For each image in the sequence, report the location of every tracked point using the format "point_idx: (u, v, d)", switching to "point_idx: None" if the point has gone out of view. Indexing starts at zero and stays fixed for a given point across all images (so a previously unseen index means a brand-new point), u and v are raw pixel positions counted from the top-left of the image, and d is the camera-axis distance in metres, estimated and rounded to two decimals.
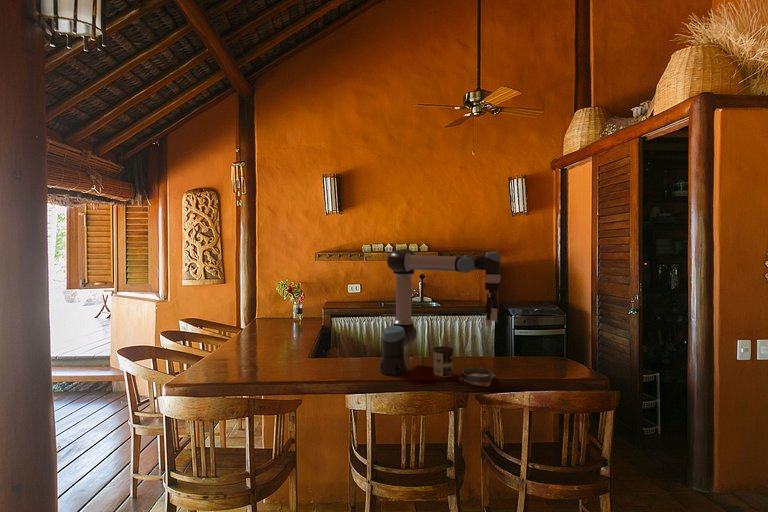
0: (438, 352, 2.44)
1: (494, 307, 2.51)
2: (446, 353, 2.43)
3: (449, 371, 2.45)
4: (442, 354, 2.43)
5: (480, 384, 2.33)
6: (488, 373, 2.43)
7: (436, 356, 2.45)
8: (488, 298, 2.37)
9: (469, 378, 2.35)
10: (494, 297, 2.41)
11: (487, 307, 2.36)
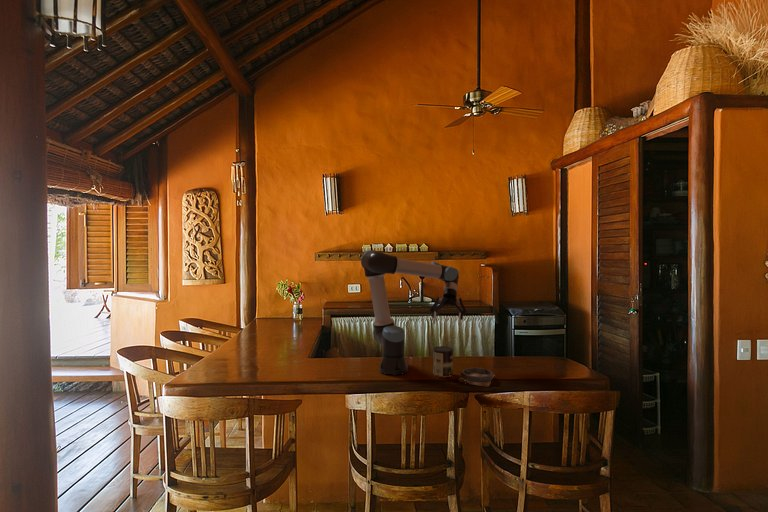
0: (438, 352, 2.44)
1: (434, 311, 2.64)
2: (446, 353, 2.43)
3: (449, 371, 2.45)
4: (442, 354, 2.43)
5: (480, 384, 2.33)
6: (488, 373, 2.43)
7: (436, 356, 2.45)
8: None
9: (469, 378, 2.35)
10: None
11: (465, 309, 2.61)
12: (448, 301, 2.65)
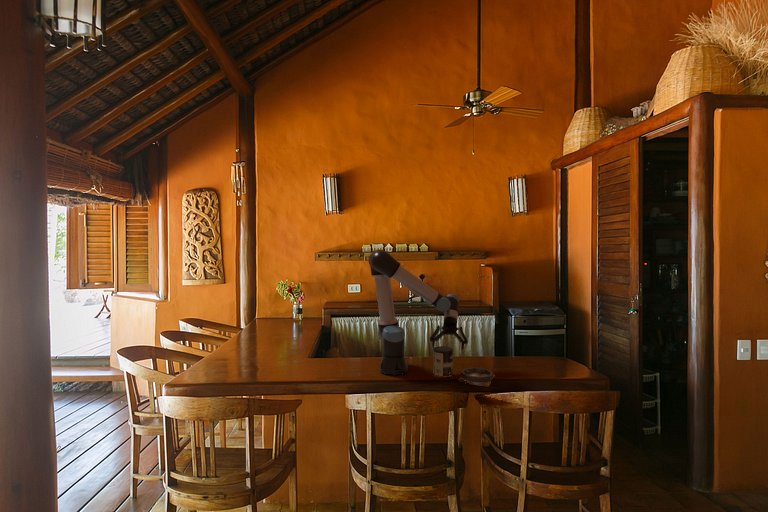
0: (438, 352, 2.44)
1: (435, 341, 2.58)
2: (446, 353, 2.43)
3: (449, 371, 2.45)
4: (442, 354, 2.43)
5: (480, 384, 2.33)
6: (488, 373, 2.43)
7: (436, 356, 2.45)
8: None
9: (469, 378, 2.35)
10: None
11: None
12: (448, 330, 2.60)
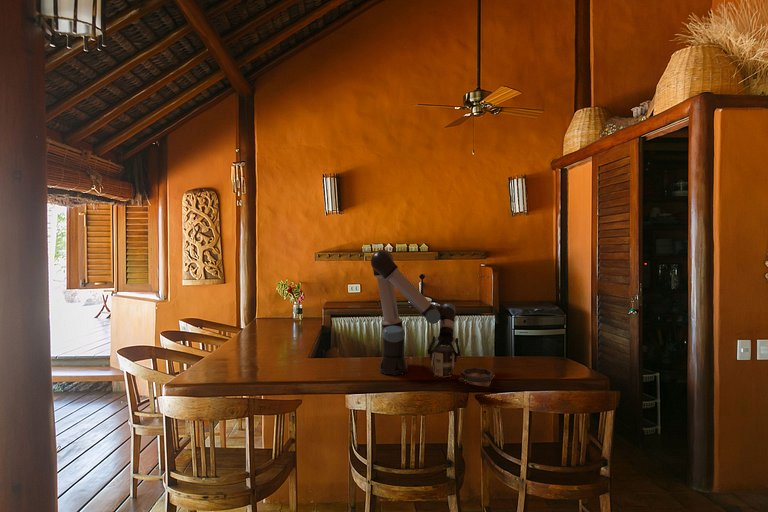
0: (438, 352, 2.44)
1: None
2: (446, 353, 2.43)
3: (449, 371, 2.45)
4: (442, 354, 2.43)
5: (480, 384, 2.33)
6: (488, 373, 2.43)
7: (436, 356, 2.45)
8: None
9: (469, 378, 2.35)
10: None
11: (459, 350, 2.49)
12: (444, 340, 2.54)
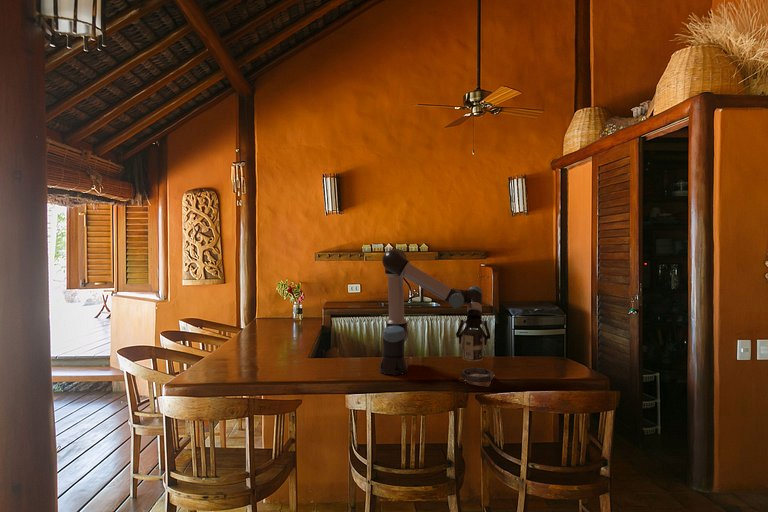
0: (468, 335, 2.37)
1: (461, 336, 2.45)
2: (476, 335, 2.37)
3: (479, 354, 2.38)
4: (472, 336, 2.37)
5: (480, 384, 2.33)
6: (488, 373, 2.43)
7: (466, 339, 2.38)
8: None
9: (469, 378, 2.35)
10: None
11: (489, 333, 2.43)
12: (473, 323, 2.48)
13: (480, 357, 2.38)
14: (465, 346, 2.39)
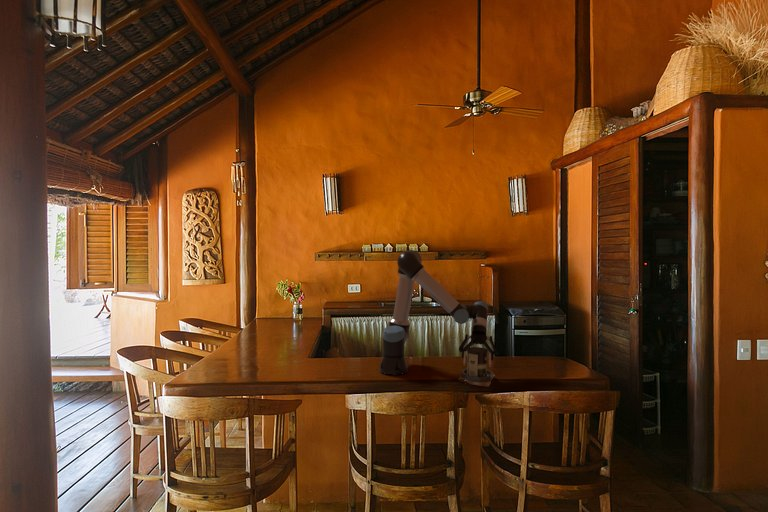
0: (472, 353, 2.36)
1: None
2: (481, 354, 2.36)
3: (484, 373, 2.37)
4: (477, 355, 2.36)
5: (480, 384, 2.33)
6: (488, 373, 2.43)
7: (470, 357, 2.37)
8: None
9: (469, 378, 2.35)
10: None
11: (495, 348, 2.42)
12: (478, 339, 2.46)
13: None
14: (469, 364, 2.38)
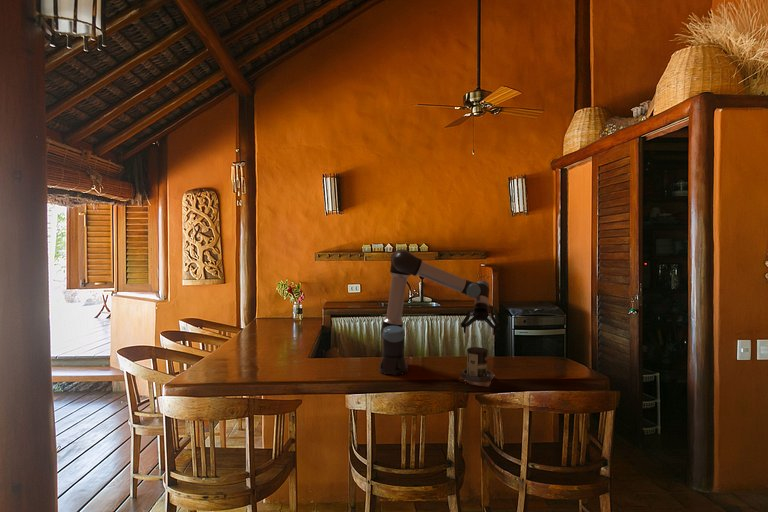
0: (472, 353, 2.36)
1: None
2: (481, 354, 2.36)
3: (484, 373, 2.37)
4: (477, 355, 2.36)
5: (480, 384, 2.33)
6: (488, 373, 2.43)
7: (470, 357, 2.38)
8: None
9: (469, 378, 2.35)
10: (485, 319, 2.59)
11: None
12: (480, 316, 2.58)
13: None
14: (469, 364, 2.38)
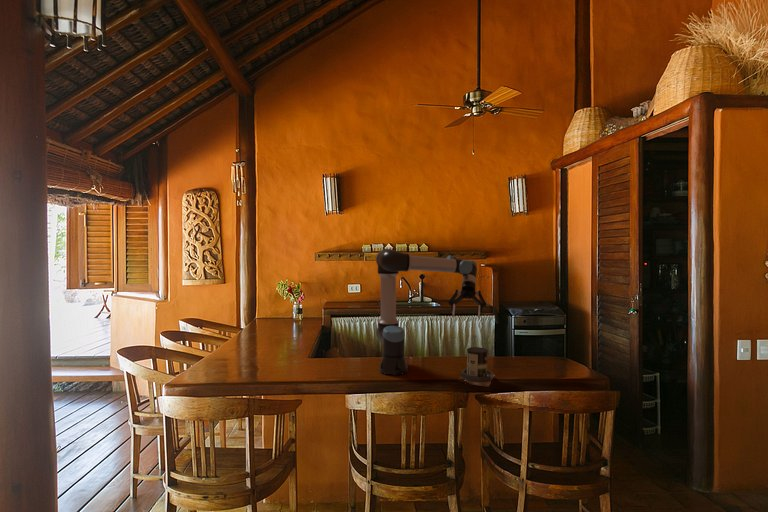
0: (472, 353, 2.36)
1: None
2: (481, 354, 2.36)
3: (484, 373, 2.37)
4: (477, 355, 2.36)
5: (480, 384, 2.33)
6: (488, 373, 2.43)
7: (470, 357, 2.38)
8: None
9: (469, 378, 2.35)
10: None
11: None
12: (467, 294, 2.63)
13: None
14: (469, 364, 2.38)
